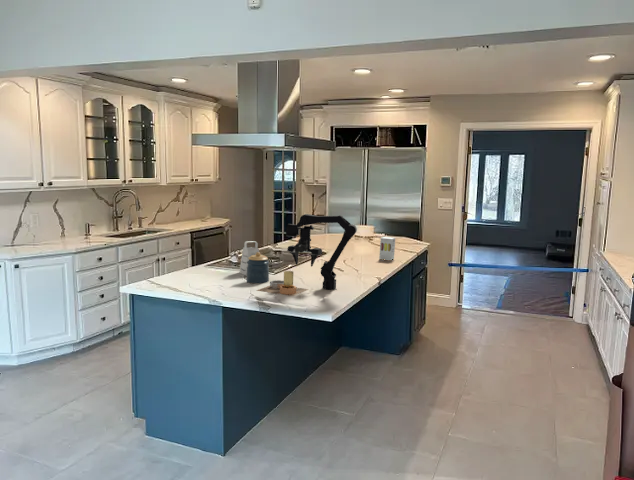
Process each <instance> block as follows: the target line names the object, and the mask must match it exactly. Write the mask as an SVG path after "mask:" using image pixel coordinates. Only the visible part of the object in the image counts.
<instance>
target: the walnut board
mask: <svg viewBox="0 0 634 480" xmlns="http://www.w3.org/2000/svg"><path fill="white" fill-rule="evenodd" d="M308 290H309V288H302V287H297V288H296V293H295V294H281V293H280V289H272V288H271V287H270V285H268V286H264V287H262V288H260V289H256V291H257V292H263V293H269V294H277V295H284V296H289V297H294V296H296V295H300V294H302V293H304V292H306V291H308Z"/></svg>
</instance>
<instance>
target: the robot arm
mask: <svg viewBox="0 0 634 480" xmlns="http://www.w3.org/2000/svg"><path fill="white" fill-rule="evenodd" d="M333 223H334V224H338V225H339V226H340V227H341V228H342V229H343V230H344V231H343V235H342V237H341V240H340V241H339V243H338V245H337V246H336V248H335V250H334V252H333V253H332V255H331V257H330V258H329V260H325V261H324V262H323V264H322V266H321V267H320V275H321V276H322V277H323V281H322V289H323V290H327V291H335V290H336V291H338V290H337V289H338V288H337V279H336V277H337V274H336V272H334V268H335V265H336V263H337V261H338V259H339V257H340V256H341V254H342V252H343V251H344V250H345V248H346V246H347V245H348V243H349V241H350V240H351V239H352V238H353V237H354V236H355V235H356V233H357V230H358V228H357V226H356V225H355V224H354V223H353V224H352V223H351V222H349V220H347V219H346V218H345V217H344V216H343V215H341V214H338V215H314V214H311V213H310V214H309V213H305V214H302V215H301V216H300V218H299V221H298V222H297V224H292V223H288V224H286V225H287V226H286V228H285V229H286V230H285V236H286V237H290V238H291V237H295V238H298V236H299V239H298V242H297V243H296V244H295V245H293V244H292V245H289V246H287V250H286V252H289V254H291V255H292V257H293V259H294V263H295V265H296V266H297V265H298V264H299V263H298V262H299V256H300V255H299V254H301V253H311V254H310V257H311V258H310V267H313V266H314V264H315V262H316V259H317V258H318V256H320V255H321V254H323V249H322V248H320V247H313V248H312V246H311V241H312V238H311V230H312V231H314V230H315V227H314V226H313V224H333Z"/></svg>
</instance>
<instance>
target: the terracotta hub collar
mask: <svg viewBox="0 0 634 480" xmlns="http://www.w3.org/2000/svg"><path fill="white" fill-rule="evenodd" d="M296 288H298V287H297V286H296V285H293V288H284V285H282V286H280V293H281V294H280V295H282V294H295V293H296Z"/></svg>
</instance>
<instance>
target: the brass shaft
mask: <svg viewBox="0 0 634 480" xmlns="http://www.w3.org/2000/svg"><path fill="white" fill-rule="evenodd" d="M283 281H284V288H293V286H294V271H293V270H284V271H283Z"/></svg>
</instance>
